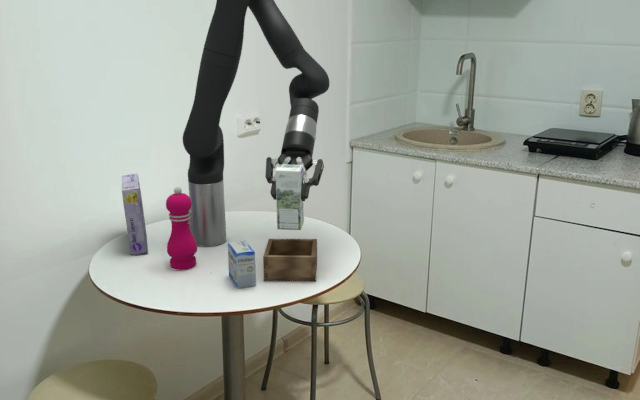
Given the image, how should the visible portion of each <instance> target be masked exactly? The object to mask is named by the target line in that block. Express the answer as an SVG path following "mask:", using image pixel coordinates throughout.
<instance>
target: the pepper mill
mask: <svg viewBox="0 0 640 400" xmlns="http://www.w3.org/2000/svg"><path fill="white" fill-rule="evenodd" d="M182 191H183V190H182V188H181V187H179V186H177V187H175V188H174V189H173V192H174V193H172V194H170V195H169V196H168V197H167V198H166V201H165V207H166V210H167V211H168V212H169V213H168V216H169V218H168V220H170V223H171V231H170V236H169V239H168V240H167V244H166V253H167V254H168V256H169V257H170V259H169V265H170V268H171V269H173V270H176V271H183V270H184V271H186V270H190V269H193V268H195V266H197V257H196V256H195V255H196V253H197V252H198V245H197V244H196V241H195V239H194V237H193V235H192V233H191V231H190V227H189V219H190V212H189V210H190V208H191V206H192V202H191V199H190V197H189V195H188V194H186V193H183V192H182Z"/></svg>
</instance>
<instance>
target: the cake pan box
mask: <svg viewBox="0 0 640 400" xmlns="http://www.w3.org/2000/svg"><path fill="white" fill-rule="evenodd" d="M121 194H122V195H121V196H122V203H123V209H124V216H125V217H124V218H125V222H126V223H125V225H126V230H127V236H128V245H129V250H130V255H143V254H144V255H145V254H148V253H149V247H148V246H149V245H148V236H147V228H146V220H145V214H144V212H145V211H144V207H143V205H144V204H143V197H142V191H141V184H140V180H139V175H138V173H131V174H126V175H121Z"/></svg>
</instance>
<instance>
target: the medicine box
mask: <svg viewBox="0 0 640 400" xmlns="http://www.w3.org/2000/svg"><path fill="white" fill-rule="evenodd" d="M227 257H228V258H227V261H228V262H227V263H228V276H229V278H230V279H231V281H232V282H233V284H234V285H235V286H236V288H237V289H245V288H251V287H255V286H257V275H256V273H257V272H256V271H257V270H256V252H255V250H254V249H253V248H252V246H251V245H250V244H249V243H248V242H247V241H246V240H243V239H242V240H234V241H233V240H232V241H230V242H227Z"/></svg>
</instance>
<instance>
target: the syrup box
mask: <svg viewBox="0 0 640 400" xmlns="http://www.w3.org/2000/svg"><path fill="white" fill-rule="evenodd" d="M302 171H303V165H279V164H278V165H277V167H276V169H275V174H276V200H275V201H276V224H277V225H276V229H277V230H287V231H288V230H289V231H292V230H293V231H302V228H303V226H304V223H305V215H304V214H305V213H304V212H305V211H304V201H301V191H302V185H303V183H304V180H303V177H302Z"/></svg>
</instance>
